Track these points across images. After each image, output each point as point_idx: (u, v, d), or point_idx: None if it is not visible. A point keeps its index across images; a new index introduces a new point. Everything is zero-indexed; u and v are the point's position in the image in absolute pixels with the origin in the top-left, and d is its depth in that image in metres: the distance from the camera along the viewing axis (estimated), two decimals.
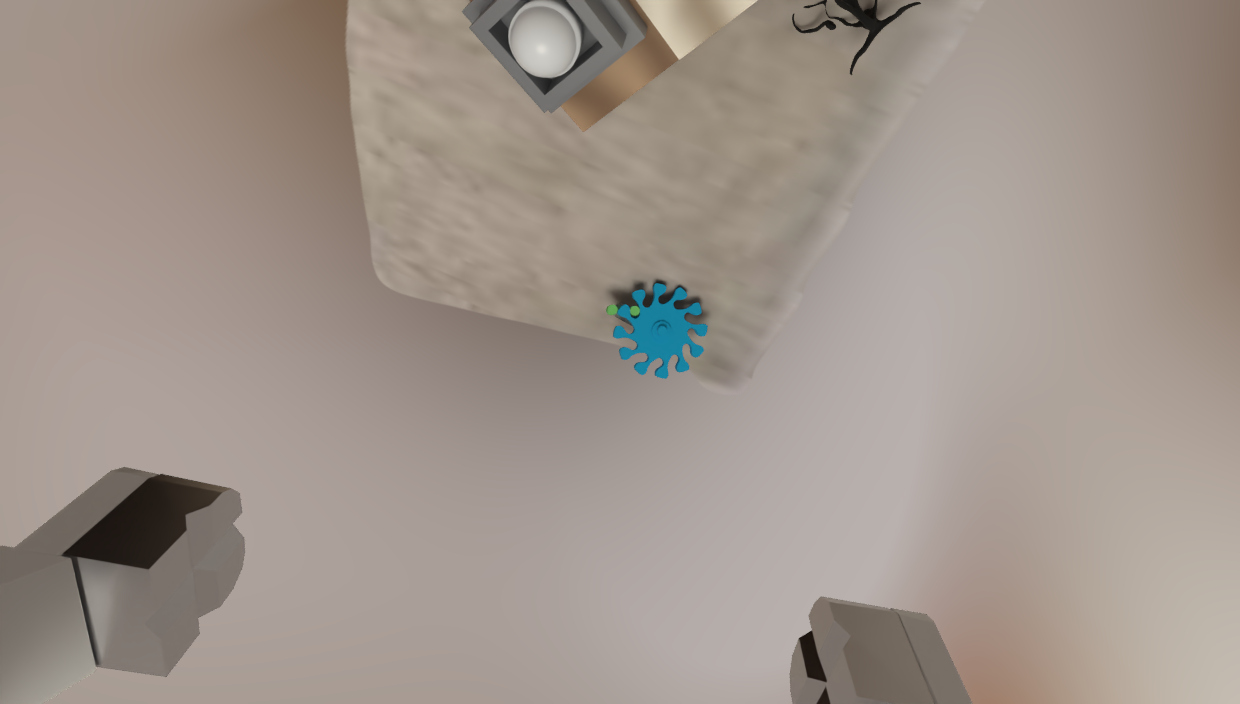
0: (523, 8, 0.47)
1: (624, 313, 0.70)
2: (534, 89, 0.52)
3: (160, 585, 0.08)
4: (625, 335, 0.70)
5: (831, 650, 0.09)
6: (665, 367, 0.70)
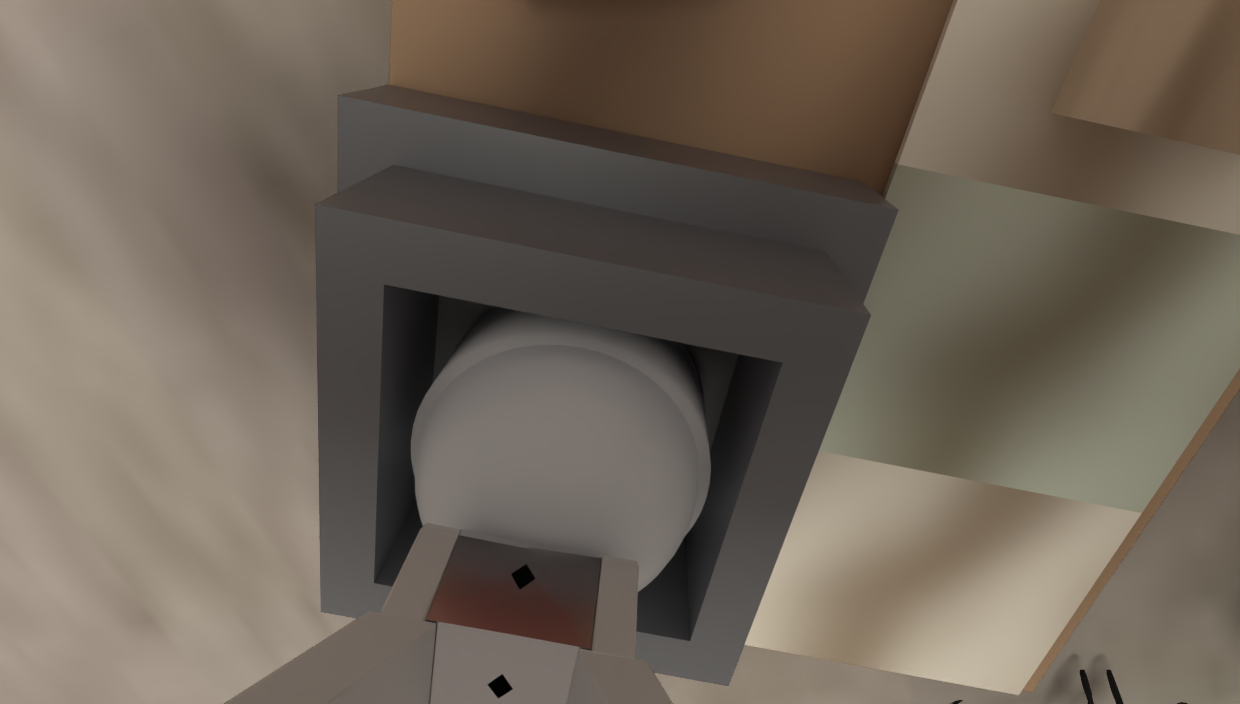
0: (608, 345, 0.11)
1: None
2: (357, 547, 0.12)
3: (508, 646, 0.08)
4: None
5: None
6: None
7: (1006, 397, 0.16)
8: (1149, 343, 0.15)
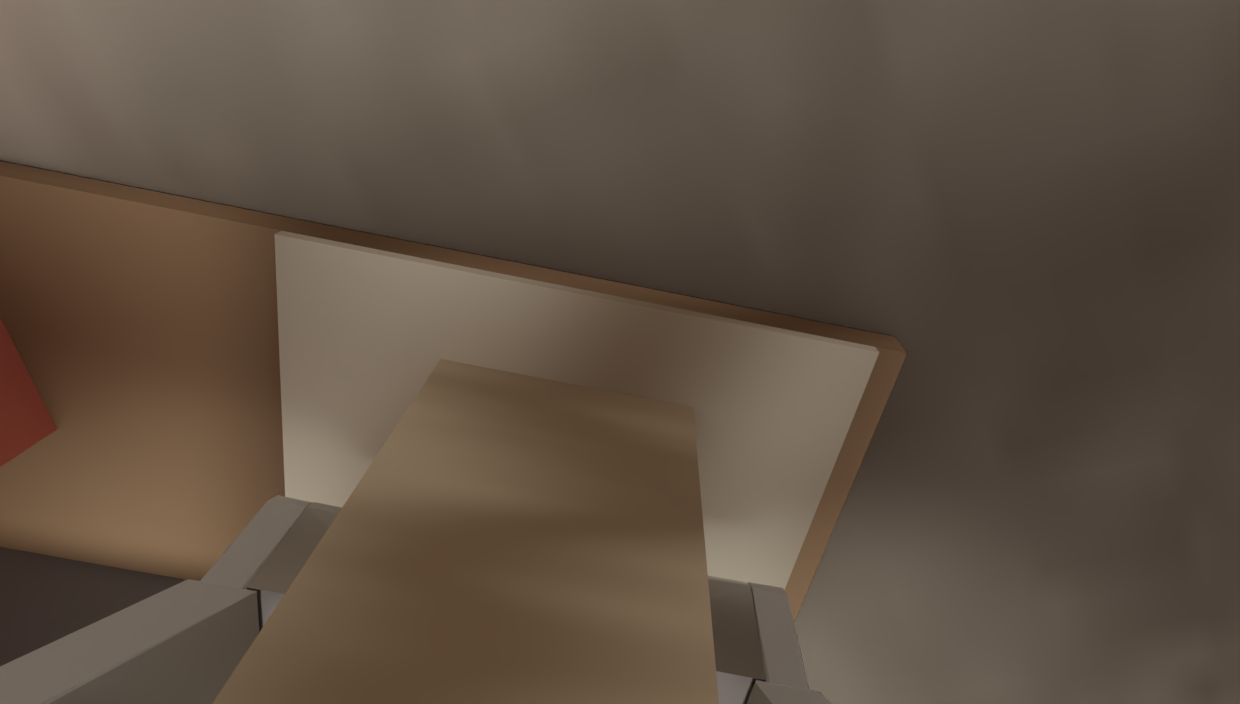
0: None
1: None
2: None
3: None
4: None
5: None
6: None
7: None
8: None
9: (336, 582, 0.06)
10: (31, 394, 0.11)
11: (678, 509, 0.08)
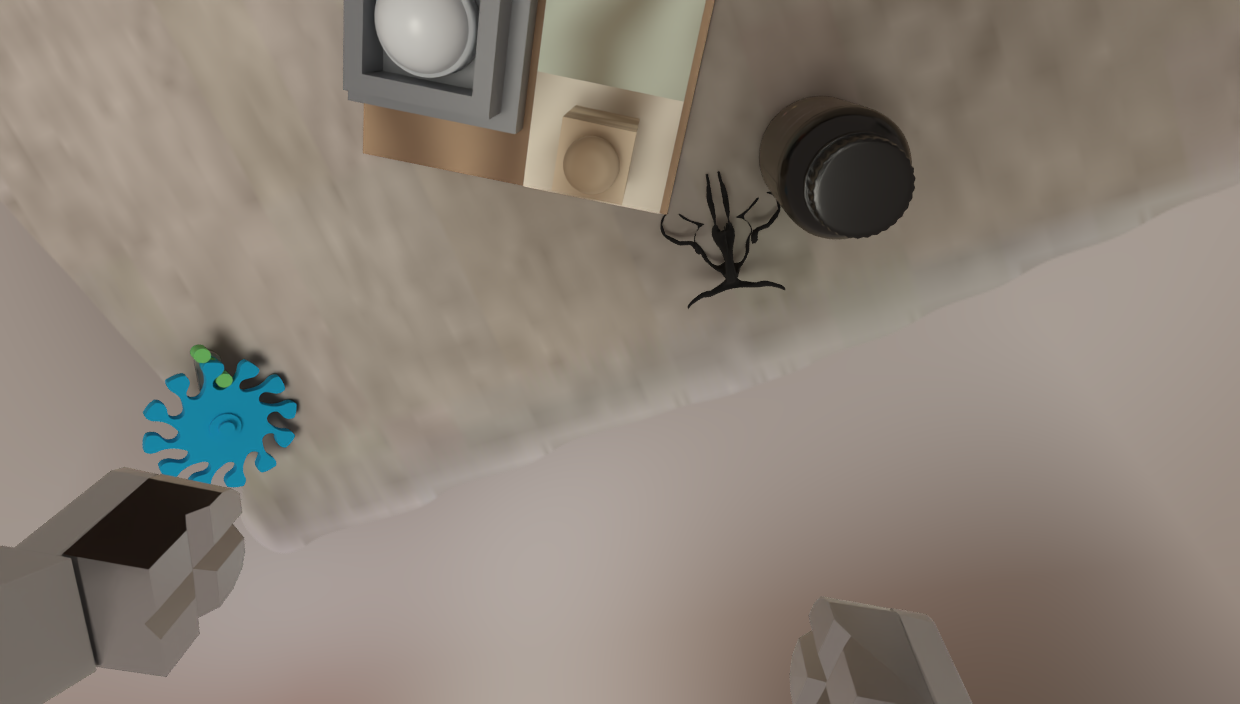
0: None
1: (210, 372, 0.48)
2: (356, 56, 0.36)
3: (160, 585, 0.08)
4: (181, 394, 0.47)
5: (831, 650, 0.09)
6: (181, 467, 0.48)
7: (616, 43, 0.40)
8: (663, 14, 0.39)
9: (572, 114, 0.37)
10: None
11: (633, 123, 0.39)
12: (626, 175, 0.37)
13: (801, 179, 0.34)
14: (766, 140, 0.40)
